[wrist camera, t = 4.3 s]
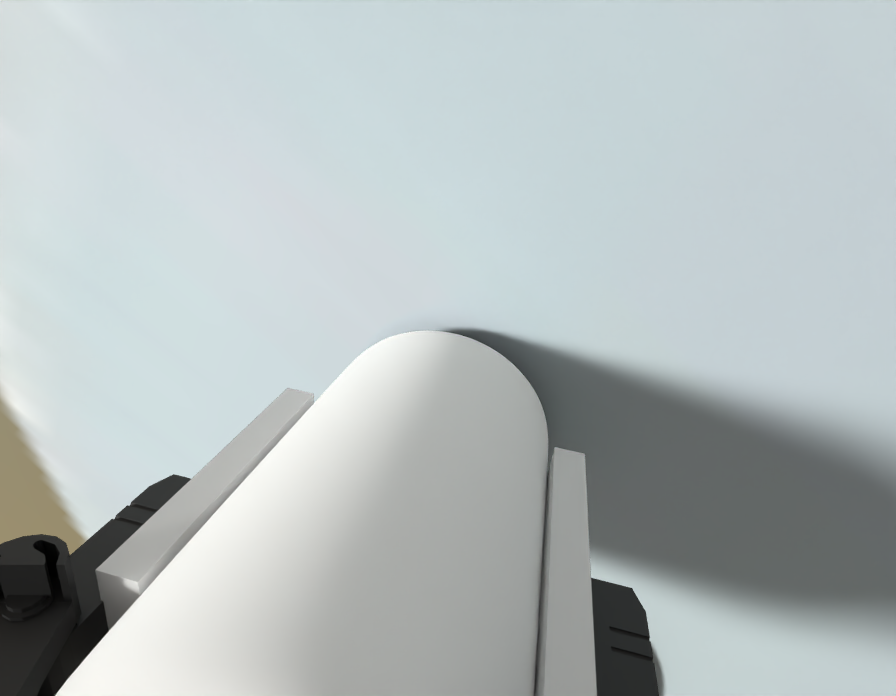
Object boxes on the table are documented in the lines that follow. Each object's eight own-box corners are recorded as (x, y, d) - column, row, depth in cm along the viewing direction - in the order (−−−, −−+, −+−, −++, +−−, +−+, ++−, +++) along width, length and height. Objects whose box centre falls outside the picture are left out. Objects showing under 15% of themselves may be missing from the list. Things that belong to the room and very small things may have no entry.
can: (312, 338, 16) (-228, 795, 5) (531, 309, 14) (415, 897, 3) (368, 516, 18) (71, 1101, 7) (563, 509, 16) (554, 1255, 6)
